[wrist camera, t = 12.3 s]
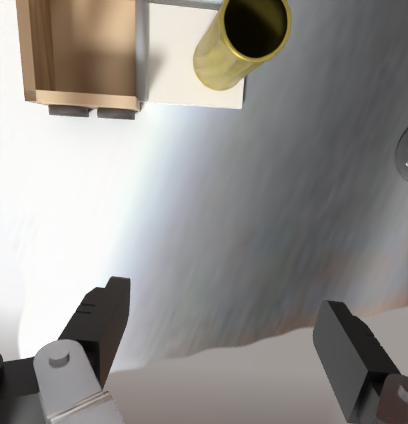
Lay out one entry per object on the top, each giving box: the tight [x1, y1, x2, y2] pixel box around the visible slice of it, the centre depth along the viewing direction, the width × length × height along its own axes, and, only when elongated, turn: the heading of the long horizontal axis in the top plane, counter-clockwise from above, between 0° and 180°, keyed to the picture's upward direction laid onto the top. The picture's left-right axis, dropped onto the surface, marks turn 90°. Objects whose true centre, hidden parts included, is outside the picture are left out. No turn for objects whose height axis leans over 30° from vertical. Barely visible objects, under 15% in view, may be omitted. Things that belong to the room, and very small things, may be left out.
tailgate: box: [135, 0, 244, 109], centre depth 35 cm, size 12×10×2 cm
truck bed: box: [16, 0, 140, 120], centre depth 31 cm, size 10×14×7 cm
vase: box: [193, 0, 291, 91], centre depth 28 cm, size 6×6×14 cm
